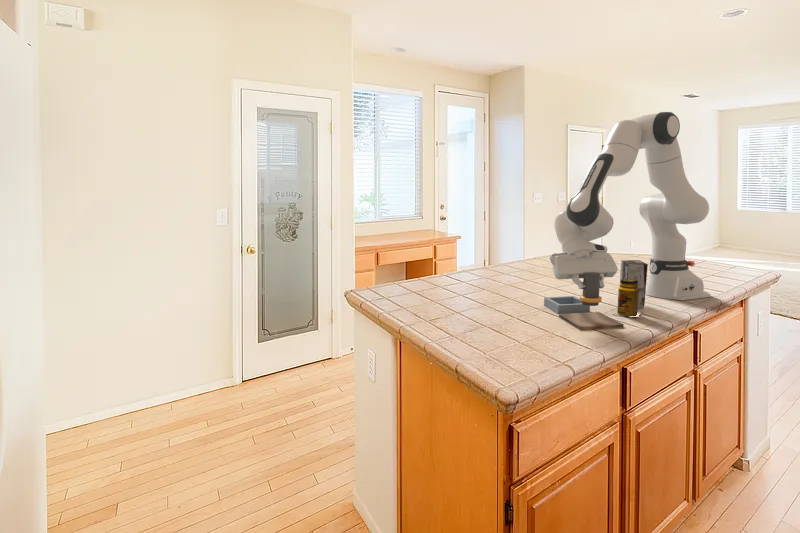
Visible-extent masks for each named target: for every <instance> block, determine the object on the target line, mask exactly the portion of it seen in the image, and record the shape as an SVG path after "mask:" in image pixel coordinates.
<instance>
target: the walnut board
mask: <svg viewBox="0 0 800 533" xmlns="http://www.w3.org/2000/svg"><path fill="white" fill-rule="evenodd" d="M558 317H559V318H560V319H561V320H562V321H564V322H566V323H568V324H570V325H571V326H573V327H574V328H576V329H578V330H579V331H585V330H586V331H587V330H588V331H589V330H600V329H601V330H602V329H603V330H604V328H606V329H618V328H617V327H622V328H624V326H625V325H624V323H622V322H620V321H618V320H616V319H614V318H612V317H610V316H608V315H606V314H604V313H602V312H600V311H590V312H585V313H567V314H558Z"/></svg>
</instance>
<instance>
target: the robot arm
mask: <svg viewBox="0 0 800 533" xmlns="http://www.w3.org/2000/svg"><path fill="white" fill-rule="evenodd" d="M680 126H681V125H680V120H679V118H678V116H677V115H675V114H674V112H672V111H671V112H670V111H659V112H658V113H650V114H646V115H641V116H639V117H635V118H632V119H623V120H620V121H619V122H617V123H616V124H615V125H614V126H613V128H612V129H611V131H610V133H608V135H607V137H606V139H605V142H604V145H603V147H602V150H601V152H600V154H598V155H597V156H596V157H595V158H594V160H593V161H592V163H591V165H590V166H589V169H588V170H587V172H586V175H585V176H584V178H583V181H582V183H581V185H580V186H579V188H578V190H577V191H576V193H575V194H574V196H573V197H572V198H571V199H570V201H569V203H568V204H567V206H566V210H563V211H562V212H560V213H558V215H557V216H556V217H555V219H554V229H555V234H556V237H557V240H558V242H559V243H560V244H561V252H560V253H556V252H555V253H552V254H551V255H550V257H549V260H550V263H551V264H552V271H553V276H554V277H555V278H556V279H557V280H572V282H573V283H574V284H576V286H577V287H578V289H579V290H583V289H585V288H586V285H585V283H584V282H583V281H582V280H580V279H583V277H584V272H598V273H600V287H599V290H600V289H604V287H605V286H606V285H605V283H604V279H605V278H612V277H613V278H614V277H615V275H616V274H617V273H618V270H619V269H618V266H617V263H616V262H615V260H614V258H613V255H611V254H610V253H608V249H609V248H608V246H605V245H604V244H599V243H595V242H593V241H594V240H597V239H601V238H602V237H604V236H607V235H608V234H609V233H610V232H611V230H612V228H613V225H614V218H613V216H612V215H611V213H610V212H609V211H608V210H607V209H606V208H605V207H604V206H603V205H602V204H601V202H600V197H599V196H600V193H601V191H602V189H603V187H604V184H605V182H606V180H607V178H608V177H620V176H624V175H625V174H628V173H630V171H631V170H632V168H634V164H635V162H636V160H637V157H638V154H639V151H640V150H642V149H644V153H645V162H646V168H647V172H648V178H649V182H650V184H651V185H652V186H653V187H654V188H656V189H658V190H659V191H660V193H656V194H651V195H647V196H645V197H644V198H643V199H642V200H641V201H640V204H639V208H638V209H639V210H638V211H639V214H640V216H641V217H642V219H643V220H644V221H645V222H646V223H647V225H648V228H649V230H650V234H651V238H652V239H651V240H652V247H651V248H652V249H651V258H650V259H649V275H648V279H647V280H648V282H647V283H646V292H645V295H647V296H651V297H654V298H659V299H667V300H677V301H689V300H697V299H704V298H710V297H711V295H712V294H711V293H710V292H708V291H705V287H704V281H703V279H701V277H699V276H697V275H696V274H695V273H694V272H692V271H691V270H690V268H689V267H692V268H693V267H694V266H695V265H696V262H695V261H693V260H687V259H686V252H687V238H686V237H685V236H684V235H683V234H681V233H680V232H679V230H678V228H677V224H678V225H690V224H691V225H692V224H698V223H701V222H703V221H704V220H705V219H706V218H707V217H708V214H709V212H710V206H709V205H710V204H709V202H708V200H707V198H706V197H704V196H702V195H701V194H699V192H697V191H696V190H695V188H694V187H693V186H692V184H690V182H689V180H688V178H687V176H686V173H685V168H684V164H683V158H682V153H681V148H680V144H679V141H678V138H677V137H678V135H679V133H680V129H681V127H680ZM591 241H592V242H591Z"/></svg>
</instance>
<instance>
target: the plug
mask: <svg viewBox="0 0 800 533" xmlns="http://www.w3.org/2000/svg"><path fill="white" fill-rule="evenodd" d="M582 279H583V281H582V282H584V283H585V285H586V288H585V289H582V294H580V295H579V299H580V301H582V304H583V305H587V306H590V307H597V306H599V303H601V302H602V298H603V297H602V296H600V289H599V287H600V273H598V272H584V277H583V278H582Z"/></svg>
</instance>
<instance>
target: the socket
mask: <svg viewBox="0 0 800 533" xmlns="http://www.w3.org/2000/svg"><path fill="white" fill-rule="evenodd" d="M543 306H544V307H546V308H548V309H550V310H551V311H552V312H554V313H556V314H557V315H559V314H569V313H587V312H591V306H587V305H583V304H582V301H580V297H577V296H575V295H568V296H567V295H566V296H550V297H549V296H548V297H544V299H543Z"/></svg>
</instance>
